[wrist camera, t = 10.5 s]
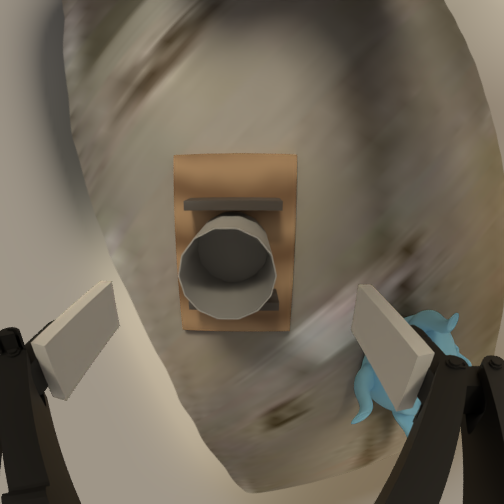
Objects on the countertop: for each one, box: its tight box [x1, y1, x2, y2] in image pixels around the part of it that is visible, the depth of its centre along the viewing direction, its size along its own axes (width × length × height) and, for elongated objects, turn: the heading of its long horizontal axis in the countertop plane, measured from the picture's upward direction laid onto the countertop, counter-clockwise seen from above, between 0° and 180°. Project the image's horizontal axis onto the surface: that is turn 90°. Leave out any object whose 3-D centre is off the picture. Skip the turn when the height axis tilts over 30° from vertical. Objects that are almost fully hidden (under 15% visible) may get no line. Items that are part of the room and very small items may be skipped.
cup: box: [178, 212, 277, 319], centre depth 30 cm, size 8×8×10 cm
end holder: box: [174, 153, 297, 331], centre depth 33 cm, size 22×14×5 cm, turn 0°
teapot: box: [351, 310, 472, 437], centre depth 35 cm, size 17×19×12 cm
